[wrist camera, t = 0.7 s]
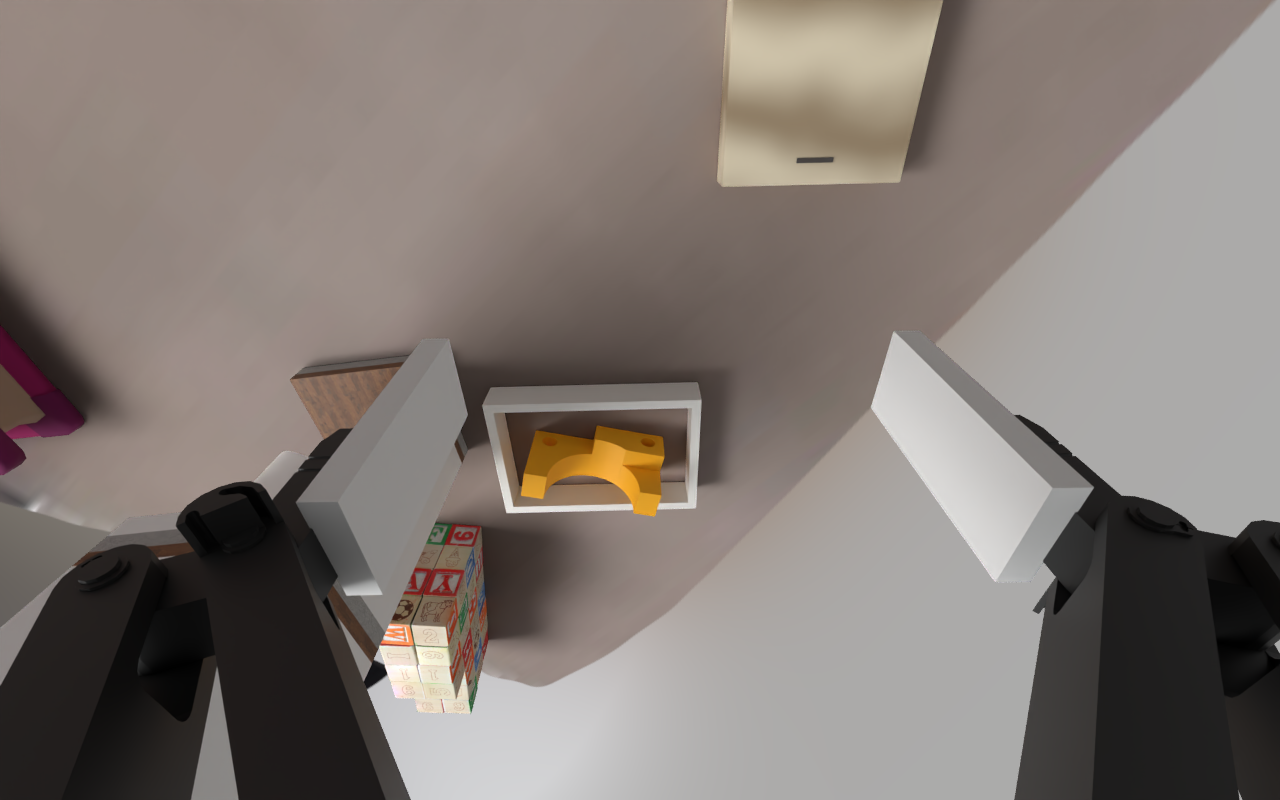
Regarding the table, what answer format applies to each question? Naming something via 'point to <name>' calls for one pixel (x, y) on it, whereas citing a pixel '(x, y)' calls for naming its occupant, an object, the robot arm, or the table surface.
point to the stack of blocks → (440, 624)
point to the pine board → (821, 89)
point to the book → (28, 404)
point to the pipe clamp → (599, 463)
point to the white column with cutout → (332, 405)
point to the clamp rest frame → (590, 400)
